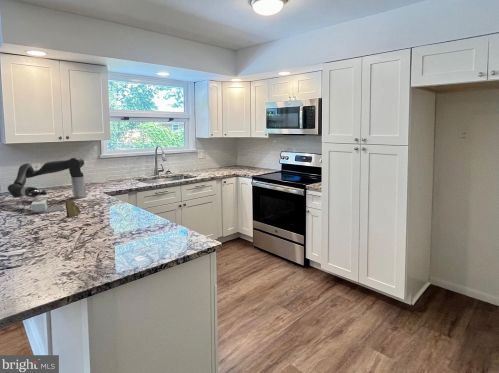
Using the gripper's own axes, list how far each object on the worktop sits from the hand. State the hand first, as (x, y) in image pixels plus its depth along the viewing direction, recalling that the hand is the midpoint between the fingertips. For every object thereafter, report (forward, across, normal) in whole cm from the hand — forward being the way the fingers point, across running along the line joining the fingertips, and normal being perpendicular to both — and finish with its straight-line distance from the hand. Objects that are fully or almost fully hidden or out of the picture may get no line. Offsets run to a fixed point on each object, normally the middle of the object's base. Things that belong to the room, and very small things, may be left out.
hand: (45, 193), depth 238 cm
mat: (+6, +3, -11) cm, 13 cm away
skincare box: (-5, +2, -8) cm, 9 cm away
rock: (+34, +6, -11) cm, 37 cm away
